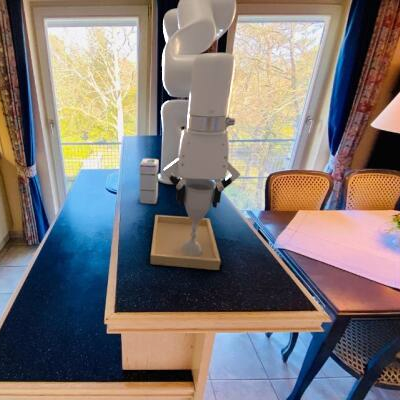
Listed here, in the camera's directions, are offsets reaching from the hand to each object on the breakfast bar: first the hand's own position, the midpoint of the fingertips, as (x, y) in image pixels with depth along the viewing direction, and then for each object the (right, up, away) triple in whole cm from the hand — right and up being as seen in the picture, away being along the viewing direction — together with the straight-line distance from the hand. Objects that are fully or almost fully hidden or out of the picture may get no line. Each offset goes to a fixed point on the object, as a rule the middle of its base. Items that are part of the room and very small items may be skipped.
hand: (197, 203), depth 60 cm
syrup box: (-8, +1, +34) cm, 35 cm away
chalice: (0, -12, +6) cm, 13 cm away
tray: (-1, -11, +10) cm, 14 cm away
